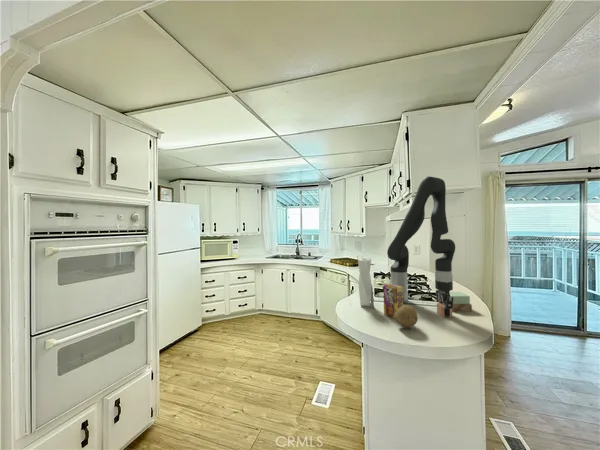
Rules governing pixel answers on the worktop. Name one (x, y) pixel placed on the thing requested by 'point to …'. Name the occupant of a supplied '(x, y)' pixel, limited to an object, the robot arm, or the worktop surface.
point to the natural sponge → (406, 316)
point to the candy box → (392, 299)
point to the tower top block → (460, 298)
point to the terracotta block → (442, 310)
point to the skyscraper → (365, 283)
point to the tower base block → (462, 307)
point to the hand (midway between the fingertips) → (444, 314)
